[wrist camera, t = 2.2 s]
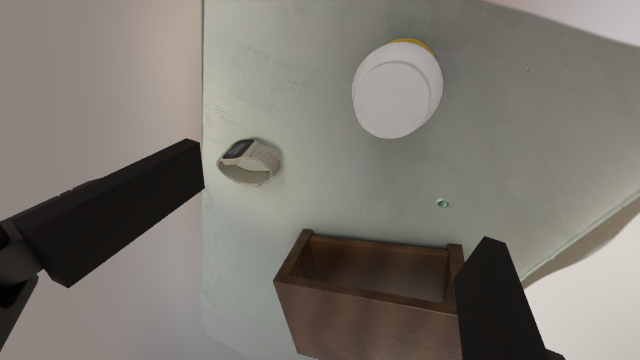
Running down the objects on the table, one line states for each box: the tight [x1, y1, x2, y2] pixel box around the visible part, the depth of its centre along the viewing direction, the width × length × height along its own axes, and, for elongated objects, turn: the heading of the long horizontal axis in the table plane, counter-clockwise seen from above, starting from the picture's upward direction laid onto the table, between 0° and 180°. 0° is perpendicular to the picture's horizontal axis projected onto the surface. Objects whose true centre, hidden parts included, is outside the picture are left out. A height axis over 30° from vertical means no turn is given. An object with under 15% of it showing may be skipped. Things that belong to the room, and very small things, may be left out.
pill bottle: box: [352, 38, 443, 139], centre depth 21 cm, size 6×6×12 cm
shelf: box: [273, 229, 465, 360], centre depth 36 cm, size 22×16×10 cm
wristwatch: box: [216, 139, 280, 187], centre depth 35 cm, size 9×6×5 cm
